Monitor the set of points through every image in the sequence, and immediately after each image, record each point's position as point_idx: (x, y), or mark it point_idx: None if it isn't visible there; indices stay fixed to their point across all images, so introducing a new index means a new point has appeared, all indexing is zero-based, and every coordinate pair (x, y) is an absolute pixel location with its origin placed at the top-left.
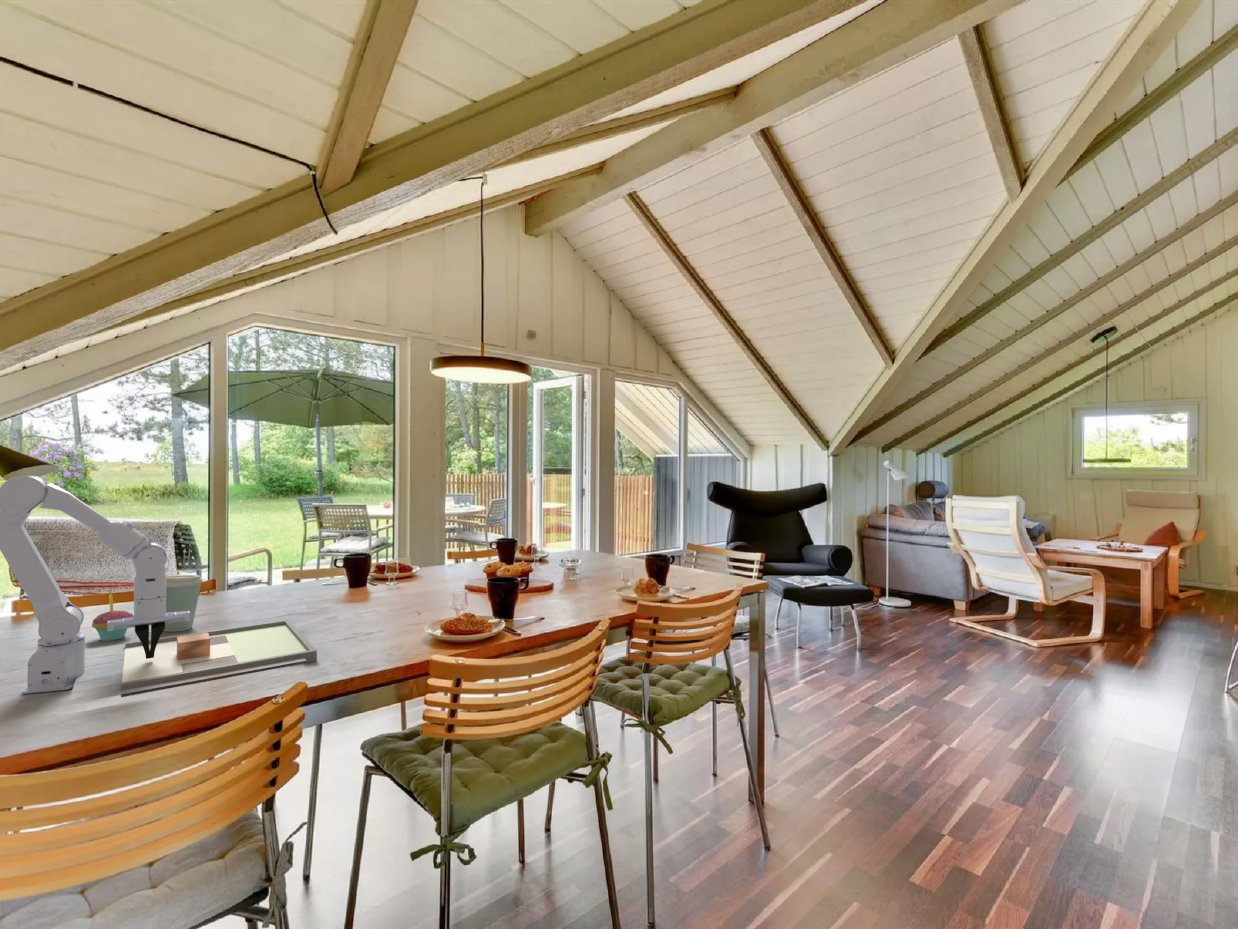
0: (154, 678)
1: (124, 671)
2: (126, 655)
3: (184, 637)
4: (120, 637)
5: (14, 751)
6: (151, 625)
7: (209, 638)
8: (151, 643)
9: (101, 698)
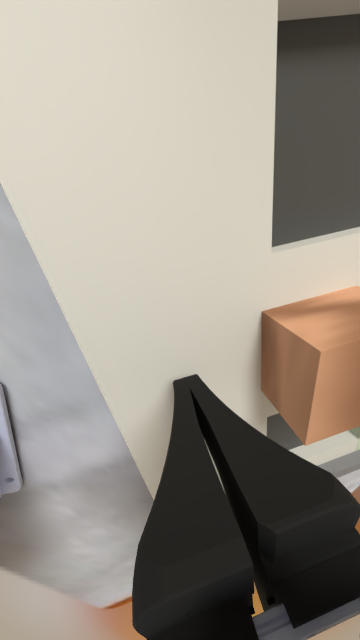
0: None
1: (132, 448)
2: (37, 238)
3: (344, 371)
4: None
5: (99, 606)
6: (269, 582)
7: None
8: (219, 473)
9: (130, 512)
